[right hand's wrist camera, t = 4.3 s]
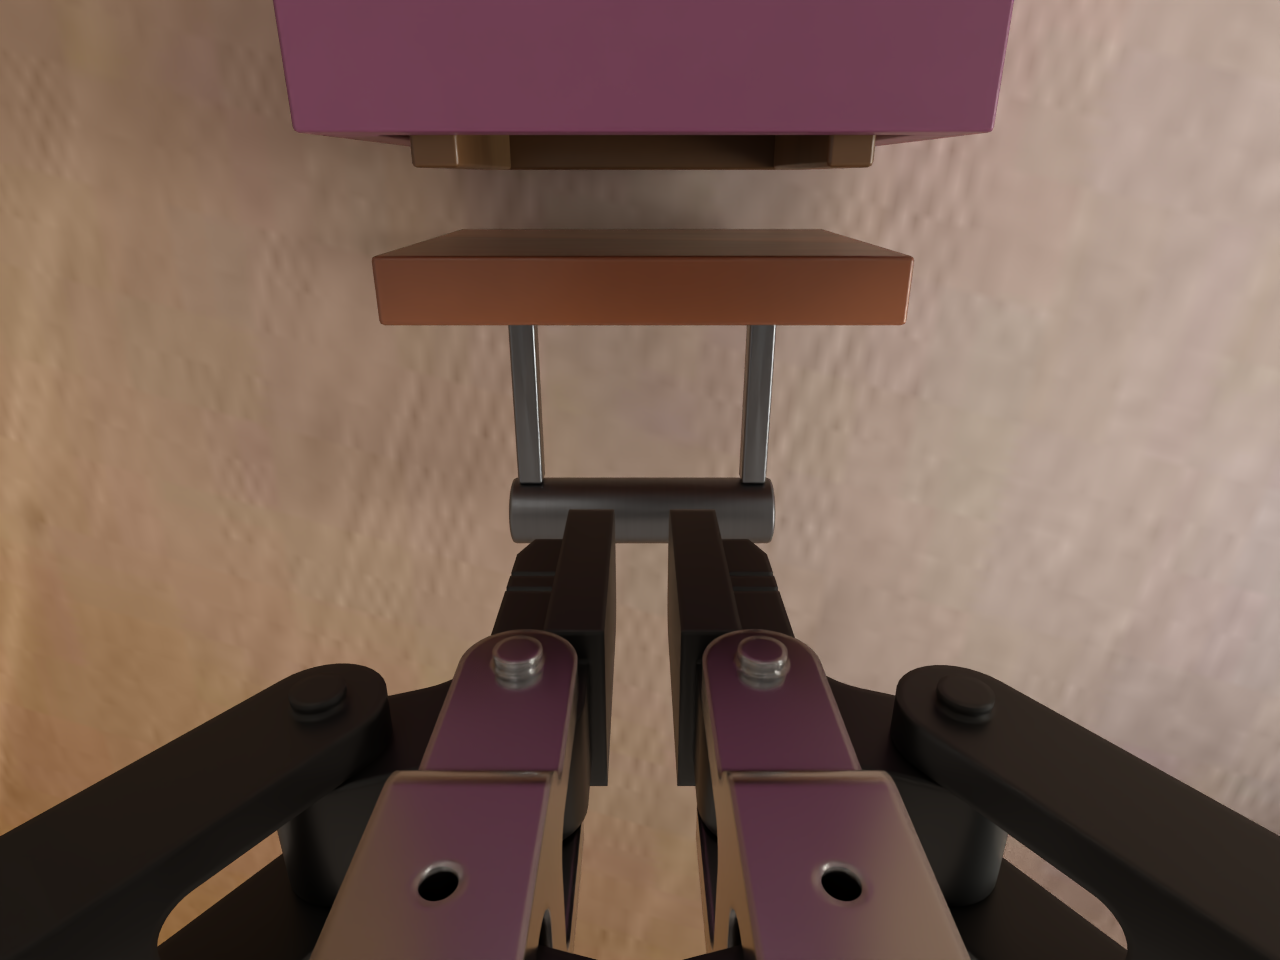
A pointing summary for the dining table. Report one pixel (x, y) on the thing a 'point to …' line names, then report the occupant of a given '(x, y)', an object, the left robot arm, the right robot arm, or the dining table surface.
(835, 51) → the cabinet
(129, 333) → the dining table surface
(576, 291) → the drawer
